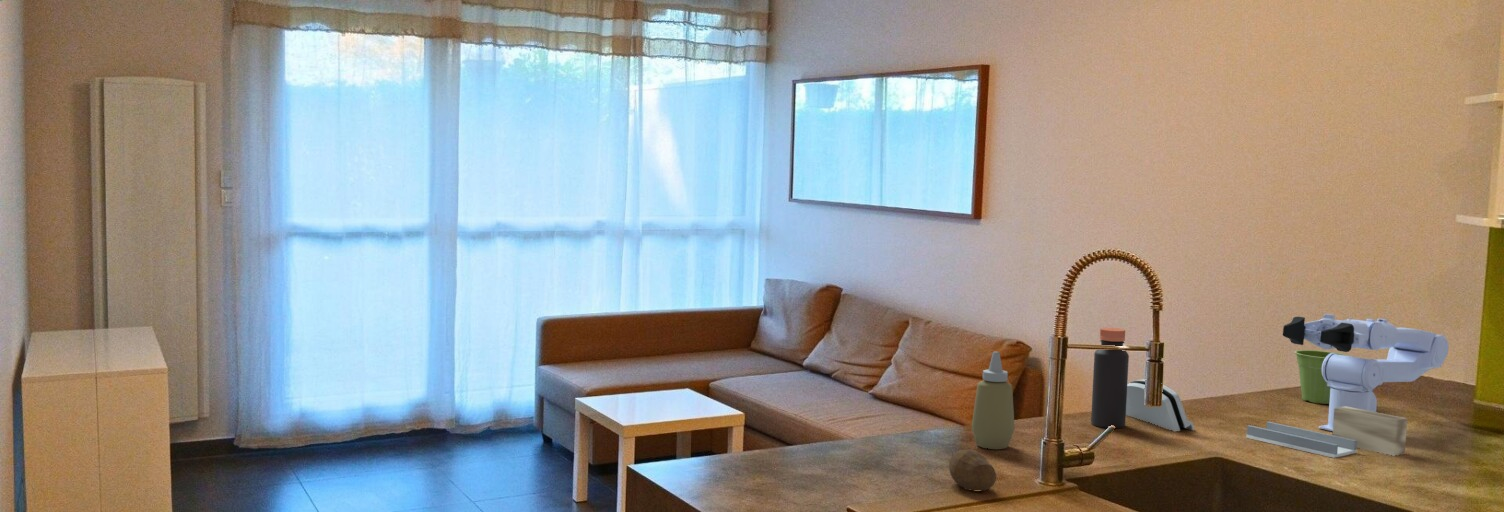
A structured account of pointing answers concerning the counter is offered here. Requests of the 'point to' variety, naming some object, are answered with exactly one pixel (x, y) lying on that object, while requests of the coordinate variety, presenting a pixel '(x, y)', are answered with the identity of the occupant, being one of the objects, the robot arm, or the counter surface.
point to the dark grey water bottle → (1110, 381)
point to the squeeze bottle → (993, 408)
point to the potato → (972, 470)
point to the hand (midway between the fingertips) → (1303, 333)
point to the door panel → (1371, 430)
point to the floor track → (1303, 439)
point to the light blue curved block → (1157, 408)
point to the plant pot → (1313, 376)
